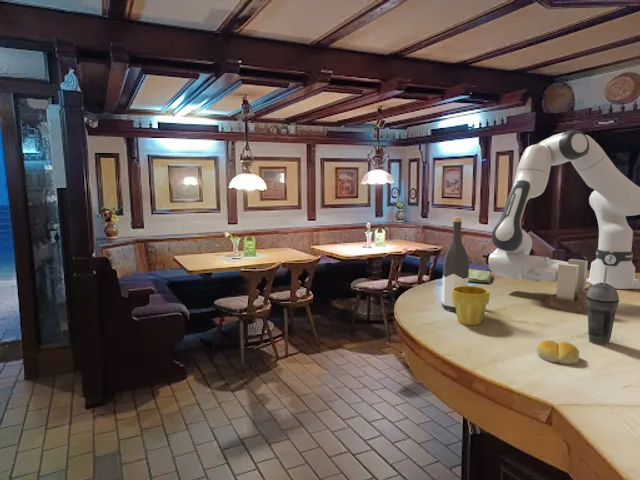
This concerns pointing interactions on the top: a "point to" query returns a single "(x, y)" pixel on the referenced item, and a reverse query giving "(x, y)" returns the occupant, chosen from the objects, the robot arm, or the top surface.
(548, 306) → the wooden divided tray
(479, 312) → the plant pot
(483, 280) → the washcloth
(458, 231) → the wine bottle
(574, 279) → the clay strip
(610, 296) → the beverage cup
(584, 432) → the top surface
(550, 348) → the bread roll
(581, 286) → the clay strip
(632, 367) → the top surface
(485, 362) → the top surface
